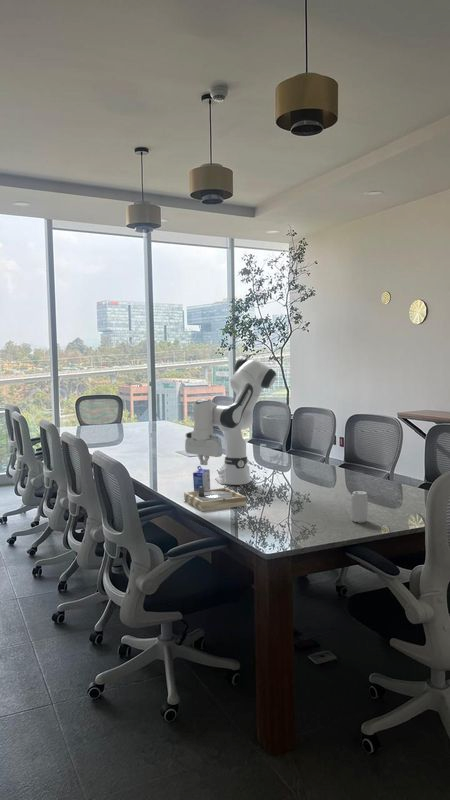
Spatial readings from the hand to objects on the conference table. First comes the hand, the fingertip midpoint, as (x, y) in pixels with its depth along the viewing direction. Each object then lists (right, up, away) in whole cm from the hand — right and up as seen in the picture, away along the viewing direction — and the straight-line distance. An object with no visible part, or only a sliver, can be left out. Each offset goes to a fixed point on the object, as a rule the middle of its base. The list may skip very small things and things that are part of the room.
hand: (203, 464), depth 269 cm
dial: (+5, -17, +6) cm, 18 cm away
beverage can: (+64, -20, -28) cm, 73 cm away
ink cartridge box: (-2, -18, +23) cm, 29 cm away
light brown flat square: (+5, -19, +6) cm, 20 cm away
